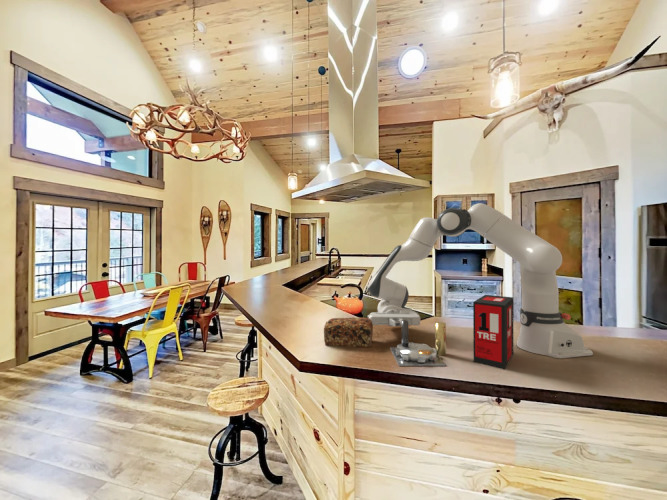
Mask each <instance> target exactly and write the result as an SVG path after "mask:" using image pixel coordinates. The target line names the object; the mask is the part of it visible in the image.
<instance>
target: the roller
mask: <svg viewBox="0 0 667 500" xmlns="http://www.w3.org/2000/svg"><path fill="white" fill-rule="evenodd" d="M434 348H435V349H436V350H437V355H438V356H439V357H444V356H447V323H446V322H443V321H435V322H434Z"/></svg>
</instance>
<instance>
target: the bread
mask: <svg viewBox="0 0 667 500" xmlns="http://www.w3.org/2000/svg"><path fill="white" fill-rule="evenodd" d="M373 327H374V325H372V321H371V320H370V319H369V318H368V317H332V318H330V319H328V321H325V324H324V327H323V339H324V340H323V341H324V345H325V346H327V347H328V346H334V347H345V348H346V346H347V348H352V347H353V348H354V347H355V348H370V347H371V345H372V343H373V333H374V332H373V331H374V330H373Z"/></svg>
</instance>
